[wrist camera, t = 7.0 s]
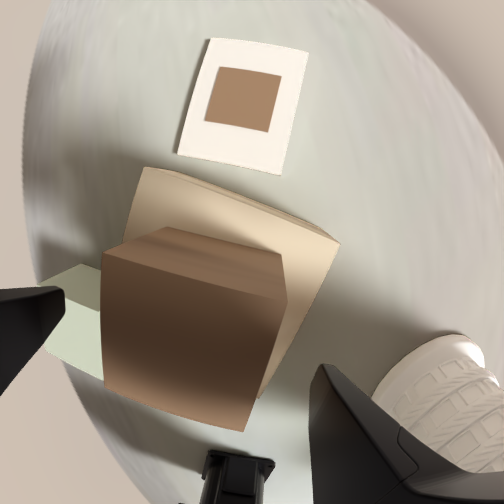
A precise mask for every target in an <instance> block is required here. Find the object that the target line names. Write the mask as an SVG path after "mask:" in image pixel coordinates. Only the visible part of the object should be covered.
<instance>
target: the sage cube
mask: <svg viewBox="0 0 504 504" xmlns="http://www.w3.org/2000/svg"><path fill="white" fill-rule="evenodd" d="M100 281H101V270H98V269H95V268H92V267H90V266H87V265H84V264H79V265H77V266H74V267H72V268H70V269H68V270H66V271H64V272H62V273H59V274H57V275H55V276H53V277H51V278H49V279H47V280H45V281H43V282H41V283H39V284H37V287H41V286H57V287H60V288H62V289H63V290H64V292H65V306H66V312H65V315H64V317H63V318H62V319H61V321H60V322H59V323H58V325H57V326H56V327H55V329H54V330H53V331H52V333H51V334H50V335H49V337H48V338H47V340H46V341H45V342H44V344H45V350H46V351H47V352H49V353H50V354H52V355H54V356H56V357H57V358H59V359H61V360H63V361H65V362H66V363H68V364H70V365H72V366H74V367H76V368H78V369H80V370H82V371H84V372H86V373H88V374H90V375H92V376H94V377H96V378H98V379H100V380H104V377H103V366H102V353H101V333H100Z"/></svg>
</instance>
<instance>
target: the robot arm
mask: <svg viewBox="0 0 504 504" xmlns="http://www.w3.org/2000/svg"><path fill="white" fill-rule="evenodd" d="M65 312H66V306H65V292H64V290H63V289H62V288H60V287H57V286H41V287H27V288H12V289H0V396H1V395H2V394H3V392H4V391H5V390H6V388H7V387H8V386H9V384H10V383H11V382H12V381H13V379H14V378H15V377H16V376H17V374H18V373H19V372H20V371H21V369H22V368H23V367H24V366H25V365H26V363H27V362H28V361H29V360H30V359H31V358H32V356H33V355H34V354H35V353H36V352H37V351H38V349H39V348H40V347H41V346H42V345H43V344H44V342H45V341H46V340H47V338H48V337H49V335H50V334H51V333H52V331H53V330H54V329H55V327H56V326H57V325H58V323H59V322H60V321H61V319H62V318H63V317H64V315H65ZM308 428H309V443H310V455H311V469H312V485H313V503H314V504H504V471H498V472H488V473H472V472H468V471H465V470H463V469H461V468H459V467H458V466H456V465H455V464H453V463H452V462H450V461H448V460H447V459H445V458H444V457H442V456H441V455H439V454H438V453H436V452H435V451H434V450H432V449H431V448H429V447H428V446H426V445H425V444H424V443H422V442H421V441H420V440H418V439H417V438H416V437H415V436H413V435H412V434H411V433H410V432H408V431H407V430H406V429H405V428H404V427H403V426H400V424H399V423H398V422H397V421H396V420H394V419H393V418H392V417H391V416H390V415H389V414H387V413H386V412H385V411H384V410H383V409H382V408H381V407H379V406H378V405H377V404H376V403H375V402H374V401H373V400H371V399H370V398H369V397H368V396H367V395H366V394H365V393H363V392H362V391H361V390H360V389H359V388H358V387H357V386H356V385H354V384H353V383H352V382H351V381H350V380H349V379H348V378H347V377H346V376H344V375H343V374H342V373H341V372H340V371H339V370H338V369H337V368H336V367H335V366H333V365H329V364H321V365H320V366H319V367H318V369H317V371H316V374H315V376H314V378H313V380H312V383H311V386H310V399H309V427H308ZM274 468H275V462H274V461H269V460H262V459H255V458H249V457H243V456H238V455H233V454H228V453H223V452H219V451H214V450H210V451H208V454H207V458H206V462H205V466H204V470H203V473H202V477H201V478H202V479H203V480H205V483H204V487H203V491H202V495H201V499H200V503H199V504H263V492H264V483H265V482H266V480H267V479H268V477H269V476H270V474H271V472H272V471H273V469H274ZM179 504H183V503H179Z"/></svg>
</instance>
